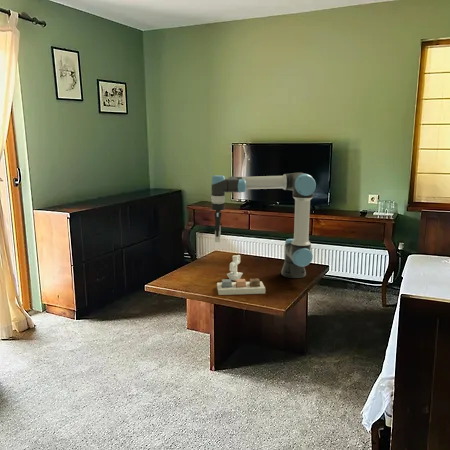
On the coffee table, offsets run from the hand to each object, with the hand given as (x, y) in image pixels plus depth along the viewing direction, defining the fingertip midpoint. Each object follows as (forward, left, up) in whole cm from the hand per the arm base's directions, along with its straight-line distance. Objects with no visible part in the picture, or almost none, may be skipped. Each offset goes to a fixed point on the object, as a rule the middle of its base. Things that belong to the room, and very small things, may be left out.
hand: (217, 239), depth 257 cm
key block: (-12, +12, -27) cm, 32 cm away
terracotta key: (-12, +12, -25) cm, 30 cm away
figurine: (-11, -8, -27) cm, 31 cm away
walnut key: (-20, +12, -25) cm, 34 cm away
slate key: (-4, +12, -25) cm, 28 cm away
